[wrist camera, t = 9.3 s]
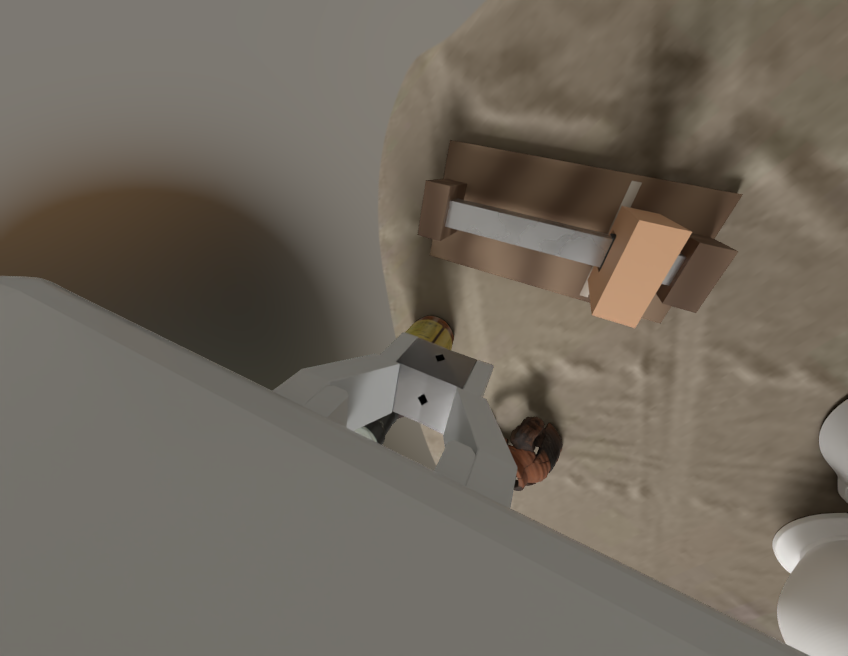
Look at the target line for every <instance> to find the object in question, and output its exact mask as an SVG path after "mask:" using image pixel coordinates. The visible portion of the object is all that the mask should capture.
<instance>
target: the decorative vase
mask: <svg viewBox="0 0 848 656" xmlns="http://www.w3.org/2000/svg"><path fill="white" fill-rule="evenodd" d="M772 545H773V551H774V553H775V555H776V557H777V559H778V561H779V562H780V564H781V565H782V566H783V567H784V568H785V569H786V570H787V571H788V572H789V573H791V574H790V576H789V577H788V579H787V581H786V582H785V584H784V586H783V589H782V591H781V593H780V596H779V600H778V606H777V617H778V623H779V627H780V630H781V633H782V636H783V638H784V640H785V643H786V644H787V645H789V646H791V647H793V648H795V649H797V650H799V651H801V652H803V653H805V654H808V655H810V656H848V513H827V514H818V515H812V516H808V517H804V518H800V519H797V520H795V521H792V522H790V523H788V524H787V525H785V526H784V527H782V528H781V529H780V530H779V531H778V532H777V533H776V535H775V536H774V539H773V544H772Z"/></svg>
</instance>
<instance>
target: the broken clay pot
mask: <svg viewBox="0 0 848 656" xmlns="http://www.w3.org/2000/svg"><path fill="white" fill-rule="evenodd" d="M504 439H505V441H506V443H507V446H508V448H509V450H510V452H511V454H512V457H513V459H514V461H515V463H516V465H517V474H516V477H518V480H516V479H515V485H514V490H516V491H521V490H523V488H524V487H525V486H529V485H533V484H536V483H537V482H541V481H542V480H543V479H545V478H546V477H547V475H548V473H550V471H551V470H552V469H553V467H554V466H555V463H556V462H557V461H558V458H559V455H560V452H561V450H562V440H561V438H560V435H559V434H558V432H557V431H556V430H555V428H554V427H553V426H552V425H551V424H550V423H548V424H547V426H546V428H544V423H543V421H542V420H541V419H540V418H538V417H527V418H526V419H524V420H523V422H522V423H521V425H519V426H517V427H516V429H514V430H513V431H512V435H511V438H510V441H511V443H512V444H513V446H511V445H508V439H506V438H504ZM535 446H536V447H539V450H538V452H537V454H535V452H534V450H535Z"/></svg>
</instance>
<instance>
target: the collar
mask: <svg viewBox="0 0 848 656" xmlns="http://www.w3.org/2000/svg"><path fill="white" fill-rule="evenodd" d="M611 233H612V234H616V238H615V240H614V243H613V245H612V247H611V249H610V251H609V253H608V255H607V257H606V259H605V261H604V264H603V266H602V268H601V269H599V267H596V266H594V267H593V269H592V271H591V274H590V276H589V278H588V287H589V295H590V304H591V312H592V315H594V316H597V317H600V318H603V319H607V320H610V321H613V322H616V323H620V324H623V325H626V326H630V327H633V328H635V327H636V326H637V324H638V322H639V321H640V319H641V317H642V316H643V314H644V312H645V311H646V309H647V307H648V306H649V304H650V302H651V301H652V299H653V297H654V296H655V294H656V292H657V291H658V289H659V287H660V285H661V284H662V282H663V280H664V279H665V277H666V275H667V274H668V272H669V270H670V269H671V267H672V265H673V264H674V262H675V260H676V259H677V257H678V255H679V254H680V252H681V250H682V249H683V247H684V245H685V243H686V242H687V240H688V238H689V237H690V235H691V233H692V231H690V230H688V229H686V228H684V227H683V226H681V225H679V224H677V223H675V222H673V221H672V220H670V219H668V218H666V217H664V216H663V215H661V214H658V213H653V212H648V211H644V210H639V209H634V208H629V207H625V206H621V208H620V211H619V213H618V215H617V217H616V219H615V221H614V224H613V226H612V228H611V230H610V232H609V234H611Z"/></svg>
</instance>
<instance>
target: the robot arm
mask: <svg viewBox="0 0 848 656" xmlns="http://www.w3.org/2000/svg"><path fill="white" fill-rule="evenodd" d="M493 368H494V366H493V365H492V364H489V363H486V362H483V361H480V360H476V359H473V358H471V357H468V356H465V355H462V354H459V353H457V352H454V351H451V350H448V349H447V348H444V347H442V346H439V345H437V344H434V343H432V342H429V341H427V340H424V339H422V338H419V337H417V336H414V335H412V334H409V333H406V332H404V333H402V334H401V335H400V336H399V337H398V338H397V339H396V340H395V341H393V342H392V343H391V345H389V346H388V347H387V348H386V349H385V351H383V352H382V353H381V354H380V355H377V354H371V355H367V356H362V357H357V358H352V359H347V360H343V361H338V362H333V363H329V364H324V365H320V366H314V367H310V368H305V369H301V370H300V371H299V372H298V373H296V374H295V375H294V376H292V377H291V378H289V379H288V380H287V381H285V382H284V383H282V384H281V385H280V386H279V387H277V388H276V389H274V390H273V391H271V390H269V389H267V388H265V387H263V386H260V385H259V384H257V383H254V382H253V381H251V380H249V379H246V378H244V377H242V376H240V375H238V374H236V373H234V372H232V371H230V370H228V369H226V368H224V367H222V366H220V365H218V364H216V363H214V362H212V361H210V360H208V359H206V358H203V357H202V356H199V355H198V354H196V353H194V352H192V351H190V350H188V349H185V348H183V347H181V346H179V345H177V344H175V343H173V342H171V341H169V340H167V339H165V338H163V337H161V336H159V335H157V334H155V333H153V332H151V331H149V330H147V329H145V328H143V327H141V326H139V325H137V324H135V323H132V322H131V321H129V320H127V319H124V318H123V317H121V316H119V315H117V314H115V313H113V312H110V311H108V310H106V309H104V308H102V307H100V306H98V305H96V304H94V303H92V302H90V301H88V300H86V299H84V298H82V297H80V296H78V295H76V294H74V293H72V292H70V291H68V290H66V289H64V288H62V287H60V286H58V285H56V284H55V283H52V282H50V281H47V280H44V279H41V278H35V277H19V276H0V656H810V655H808V654H805V653H803V652H801V651H799V650H797V649H795V648H793V647H791V646H789V645H787V644H785V643H783V642H781V641H779V640H777V639H775V638H773V637H771V636H769V635H767V634H765V633H763V632H761V631H759V630H757V629H755V628H753V627H751V626H749V625H747V624H745V623H742V622H740V621H738V620H736V619H734V618H732V617H730V616H728V615H726V614H724V613H722V612H720V611H718V610H716V609H714V608H712V607H710V606H708V605H706V604H704V603H702V602H700V601H698V600H696V599H694V598H692V597H690V596H688V595H686V594H684V593H682V592H680V591H677V590H675V589H673V588H671V587H669V586H667V585H665V584H663V583H661V582H659V581H657V580H655V579H653V578H651V577H649V576H647V575H645V574H643V573H641V572H639V571H637V570H635V569H633V568H631V567H629V566H627V565H625V564H623V563H621V562H619V561H617V560H614V559H612V558H610V557H608V556H606V555H604V554H602V553H600V552H598V551H596V550H594V549H592V548H590V547H588V546H586V545H584V544H582V543H580V542H578V541H576V540H574V539H572V538H570V537H568V536H566V535H564V534H561V533H559V532H557V531H555V530H553V529H551V528H549V527H547V526H545V525H543V524H541V523H539V522H537V521H535V520H533V519H531V518H529V517H527V516H525V515H523V514H521V513H518V512H516V511H514V510H512V509H510V507H511V501H512V496H513V490H514V485H515V479H516V474H517V465H516V463H515V461H514V459H513V457H512V454H511V452H510V450H509V448H508V446H507V443H506V441H505V439H504V437H503V434H502V432H501V430H500V428H499V426H498V423H497V421H496V419H495V417H494V415H493V412H492V410H491V408H490V406H489V404H488V401H487V399H485V398H483V396H484V393H485V390H486V387H487V385H488V382H489V379H490V376H491V373H492V371H493ZM392 411H393V412H395V413H398V414H400V415H403V416H405V417H407V418H410V419H412V420H414V421H417V422H419V423H421V424H423V425H425V426H427V427H429V428H431V429H433V430H435V431H437V432H439V433H441V434H444V435H443V438H444V444H445V450H444V452H443V454H442V456H441V458H440V460H439V462H438V464H437V466H436V468H435V470H432V469H429V468H427V467H425V466H423V465H421V464H419V463H417V462H415V461H413V460H411V459H409V458H407V457H405V456H403V455H401V454H399V453H397V452H395V451H393V450H391V449H389V448H387V447H385V446H383V445H381V444H379V443H377V442H375V441H373V440H371V439H369V438H367V437H364V436H362V435H360V434H358V433H356V432H354V430H356V429H358V428H361V427H363V426H365V425H367V424H369V423H371V422H373V421H375V420H378V419H380V418H382V417H384V416H386V415H388V414H390V413H392ZM819 446H820V450H821V452H822V455H823V457H824V458H825V460H826V461H827V463H828V464H829V465H830V466H831V467H832V469H833V470H834V471H835V472H836V474H837V476H838V492H839V495H840V496H841V497H842V498H843V499H844V500H845V501H846V502H847V503H848V399H847V400H846V401H844V402H843V403H841V404H840V405H839V406H838V407H837V408H836V409H835V410H833V411H832V413H831V414H830V415H829V416H828V417H827V419H826V420H825V422H824V423H823V426H822V428H821V431H820V435H819Z"/></svg>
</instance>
